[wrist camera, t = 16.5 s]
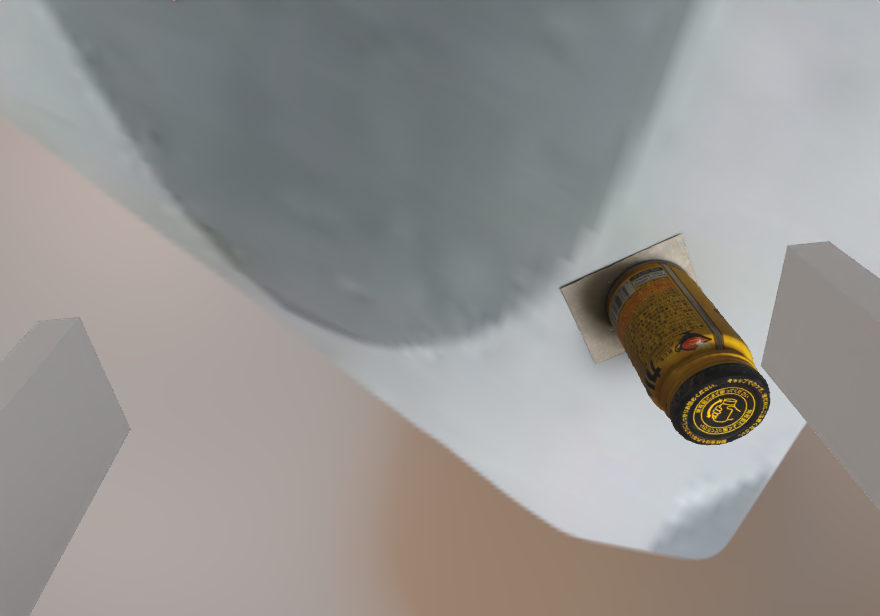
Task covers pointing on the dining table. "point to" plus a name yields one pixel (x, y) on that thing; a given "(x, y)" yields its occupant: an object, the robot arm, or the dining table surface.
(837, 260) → the robot arm
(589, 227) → the dining table surface
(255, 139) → the dining table surface
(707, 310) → the condiment
